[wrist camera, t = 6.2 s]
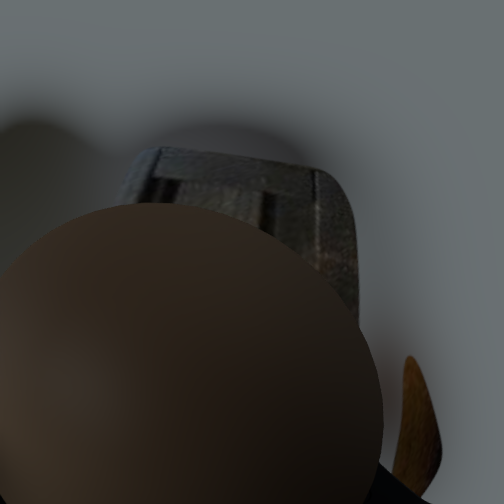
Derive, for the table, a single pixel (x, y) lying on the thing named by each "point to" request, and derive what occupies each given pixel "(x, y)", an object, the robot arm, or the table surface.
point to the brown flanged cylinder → (180, 368)
